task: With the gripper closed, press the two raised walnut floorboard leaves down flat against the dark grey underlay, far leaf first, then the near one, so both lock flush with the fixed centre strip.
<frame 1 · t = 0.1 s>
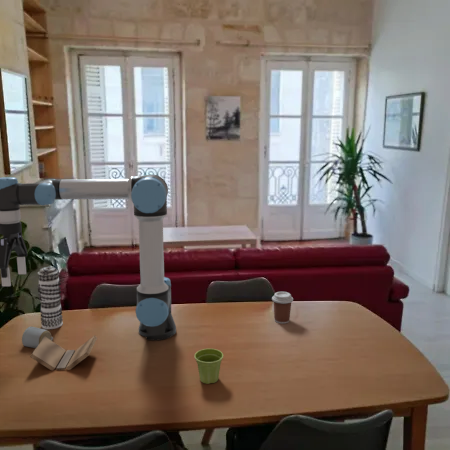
hand: (14, 279, 162), 28 cm above the table, fingers open, 13 cm apart
decorative candle: (52, 325, 190), on the table
coffee cup: (281, 320, 196), on the table
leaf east: (48, 353, 157), point 4 cm above the table, hinge at 38.0°
centre strip: (66, 363, 159), resting on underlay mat
ceramic mug: (39, 346, 172), on the table
plant pot: (209, 379, 149), on the table
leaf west: (82, 352, 158), point 4 cm above the table, hinge at 38.0°
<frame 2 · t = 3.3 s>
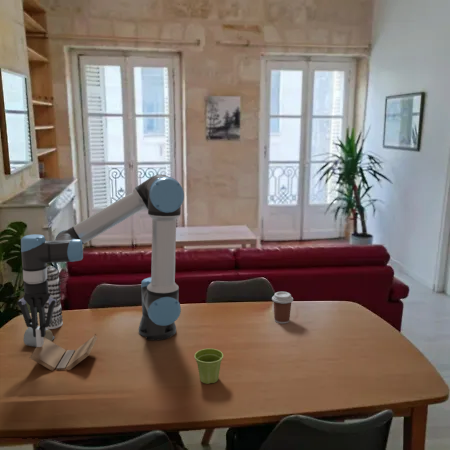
hand: (40, 345, 157), 7 cm above the table, fingers closed
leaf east: (48, 353, 157), point 4 cm above the table, hinge at 35.5°, touching gripper
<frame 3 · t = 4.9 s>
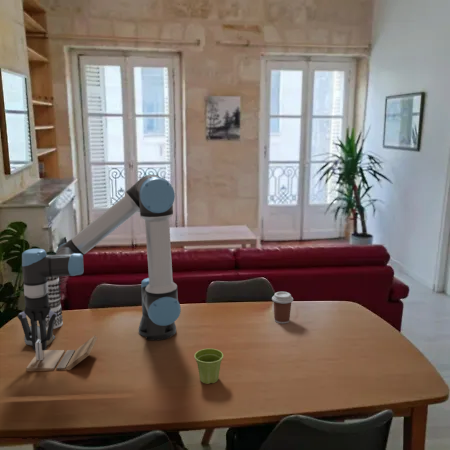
hand: (40, 358, 157), 2 cm above the table, fingers closed, pressing on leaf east
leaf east: (46, 360, 158), point 1 cm above the table, hinge at 2.0°, touching gripper
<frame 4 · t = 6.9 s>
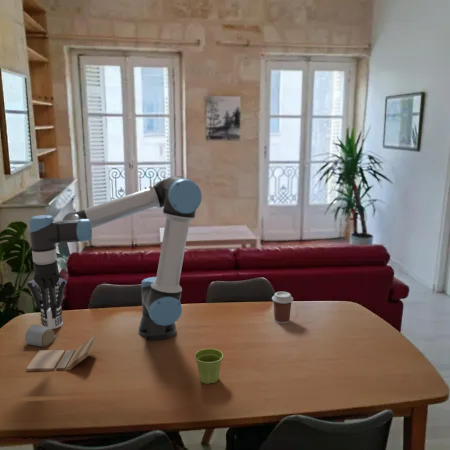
hand: (51, 326, 156), 14 cm above the table, fingers closed
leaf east: (46, 360, 158), point 1 cm above the table, hinge at 1.3°
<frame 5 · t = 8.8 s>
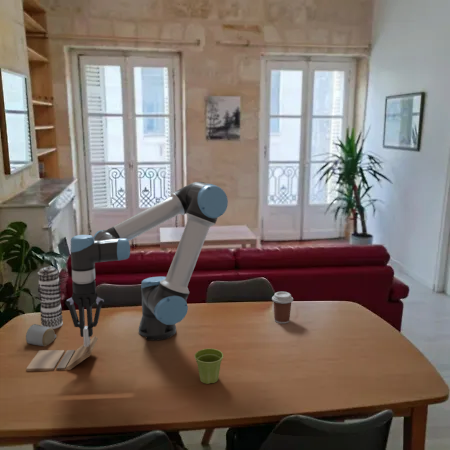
hand: (87, 344, 158), 7 cm above the table, fingers closed
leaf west: (82, 352, 158), point 4 cm above the table, hinge at 36.0°, touching gripper
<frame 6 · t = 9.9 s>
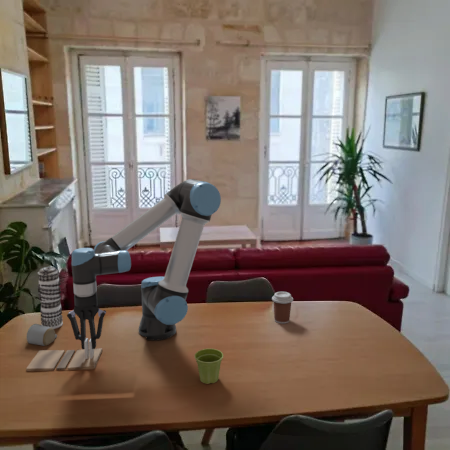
hand: (89, 356, 158), 2 cm above the table, fingers closed, pressing on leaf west
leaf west: (85, 359, 159), point 1 cm above the table, hinge at 2.4°, touching gripper
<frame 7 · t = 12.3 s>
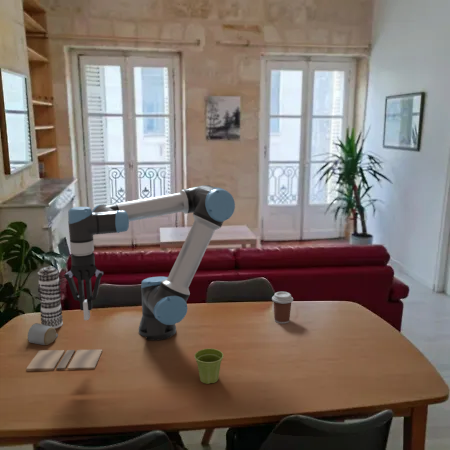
hand: (87, 318, 156), 17 cm above the table, fingers closed
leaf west: (85, 360, 159), point 1 cm above the table, hinge at -0.6°, touching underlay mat
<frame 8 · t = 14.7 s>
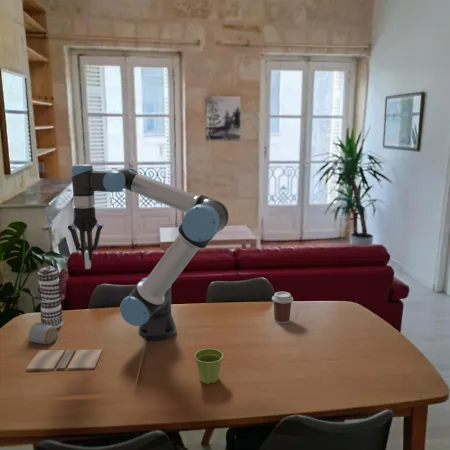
hand: (88, 267, 171), 29 cm above the table, fingers closed
at the end: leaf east at +1° (first picture: +38°); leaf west at -1° (first picture: +38°) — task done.
